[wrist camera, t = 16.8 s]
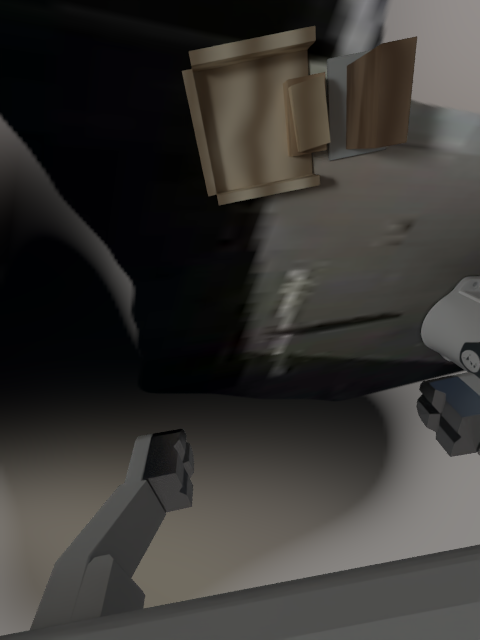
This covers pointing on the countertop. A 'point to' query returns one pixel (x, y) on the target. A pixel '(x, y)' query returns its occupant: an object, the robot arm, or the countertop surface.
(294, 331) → the countertop surface
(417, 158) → the countertop surface
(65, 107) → the countertop surface
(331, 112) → the mat
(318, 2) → the countertop surface
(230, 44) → the tray
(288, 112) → the offcut lower
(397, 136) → the dark brown wood block
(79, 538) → the robot arm
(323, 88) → the offcut upper
